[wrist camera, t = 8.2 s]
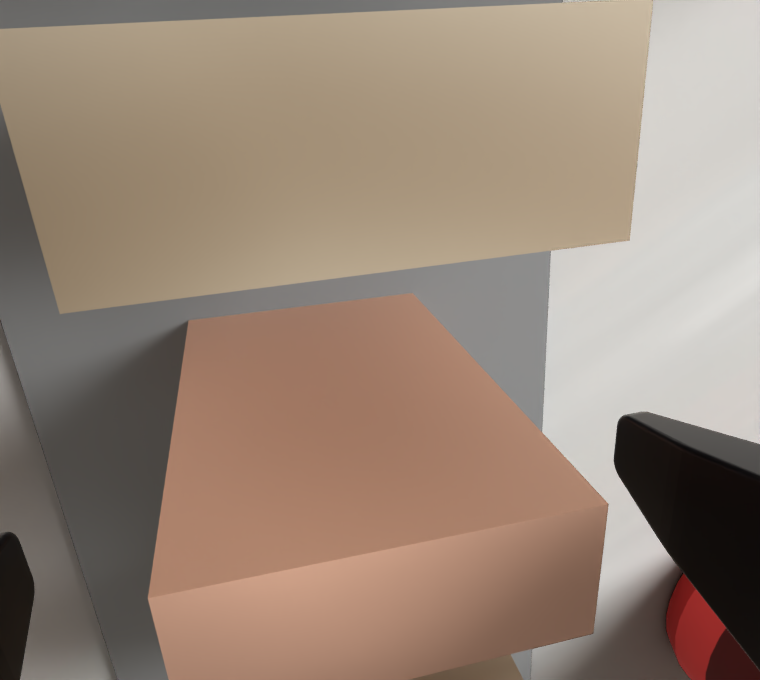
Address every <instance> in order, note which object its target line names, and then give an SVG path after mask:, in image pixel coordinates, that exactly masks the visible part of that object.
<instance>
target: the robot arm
mask: <svg viewBox="0 0 760 680" xmlns="http://www.w3.org/2000/svg"><path fill="white" fill-rule="evenodd" d="M614 465H615V469H616V471H617V473H618V475H619V477H620V479H621V480H622V482H623V483H624V485H625V487H626V488H627V490H628V491H629V493H630V494H631V496H632V498H633V499H634V501H635V502H636V504H637V506H638V507H639V509H640V510H641V512H642V513H643V515H644V517H645V518H646V520H647V521H648V523H649V525H650V526H651V528H652V529H653V531H654V532H655V534H656V536H657V537H658V539H659V540H660V542H661V543H662V545H663V546H664V548H665V549H666V551H667V552H668V553H669V555H670V556H671V557H672V559H673V560H674V561H675V563H676V564H677V565H678V567H679V568H680V569H681V571H682V572H683V573H684V574H685V576H686V577H687V578H688V580H689V581H690V582H691V583H692V585H693V586H694V587H695V589H696V590H697V591H698V592H699V594H700V595H701V596H702V597H703V599H704V600H705V601H706V603H707V604H708V605H709V606H710V608H711V609H712V610H713V612H714V613H715V614H716V615H717V617H718V618H719V619H720V621H721V622H722V623H723V624H724V626H725V627H726V628H727V629H728V631H729V632H730V633H731V635H732V636H733V637H734V638H735V640H736V641H737V642H738V644H739V645H740V646H741V647H742V649H743V650H744V651H745V653H746V654H747V655H748V656H749V658H750V659H751V660H752V662H753V663H754V664H755V665H756V667H757V668H758V669H759V670H760V444H757V443H754V442H750V441H747V440H743V439H740V438H736V437H733V436H729V435H726V434H722V433H719V432H715V431H712V430H708V429H705V428H702V427H698V426H695V425H691V424H688V423H684V422H681V421H677V420H674V419H670V418H667V417H663V416H660V415H656V414H653V413H649V412H638V413H633V414H628V415H624V416H622V417H621V418H620V419H619V421H618V424H617V433H616V442H615V452H614ZM33 600H34V581H33V577H32V574H31V572H30V569H29V566H28V563H27V561H26V558H25V555H24V553H23V550H22V547H21V544H20V542H19V540H18V538H17V537H16V535H15V534H13V533H11V532H6V533H0V680H20V676H21V670H22V664H23V659H24V653H25V647H26V641H27V635H28V629H29V623H30V618H31V612H32V606H33Z"/></svg>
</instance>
